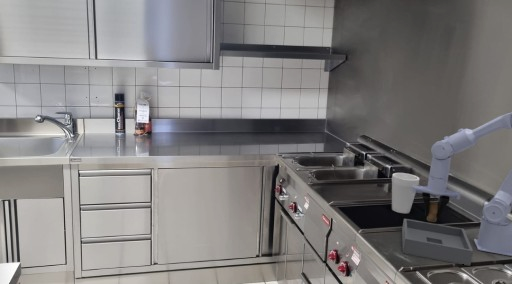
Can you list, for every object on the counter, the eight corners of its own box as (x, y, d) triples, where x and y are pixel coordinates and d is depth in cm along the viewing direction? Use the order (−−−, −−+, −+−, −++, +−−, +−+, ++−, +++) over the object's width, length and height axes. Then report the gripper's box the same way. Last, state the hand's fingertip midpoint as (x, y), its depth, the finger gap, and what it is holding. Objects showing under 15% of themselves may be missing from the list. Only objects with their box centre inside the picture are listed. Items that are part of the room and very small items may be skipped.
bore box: (461, 242, 142) (463, 228, 141) (470, 266, 126) (473, 251, 125) (401, 231, 146) (403, 218, 145) (402, 253, 130) (405, 238, 129)
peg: (435, 219, 150) (438, 202, 149) (436, 222, 148) (439, 205, 146) (426, 217, 151) (429, 201, 150) (426, 221, 148) (429, 203, 147)
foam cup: (407, 206, 172) (412, 173, 169) (418, 215, 163) (424, 180, 160) (383, 205, 170) (388, 172, 168) (394, 214, 161) (399, 179, 159)
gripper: (460, 176, 148) (454, 215, 151) (414, 170, 152) (408, 208, 155) (464, 182, 142) (456, 223, 144) (415, 175, 145) (409, 215, 148)
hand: (432, 216), depth 149 cm, fingers closed on peg, 3 cm apart
